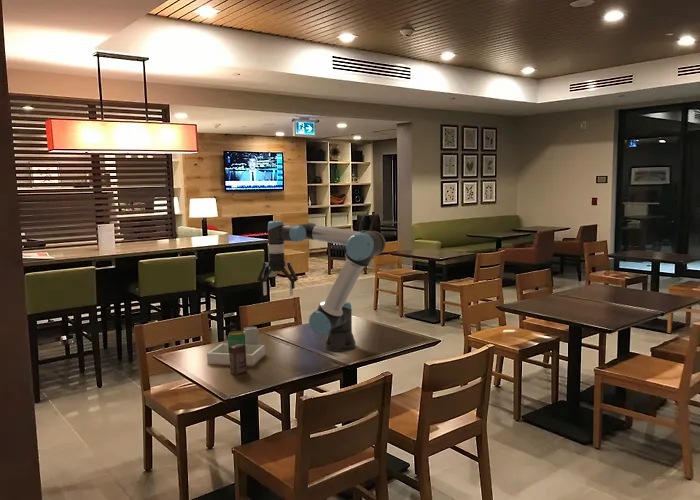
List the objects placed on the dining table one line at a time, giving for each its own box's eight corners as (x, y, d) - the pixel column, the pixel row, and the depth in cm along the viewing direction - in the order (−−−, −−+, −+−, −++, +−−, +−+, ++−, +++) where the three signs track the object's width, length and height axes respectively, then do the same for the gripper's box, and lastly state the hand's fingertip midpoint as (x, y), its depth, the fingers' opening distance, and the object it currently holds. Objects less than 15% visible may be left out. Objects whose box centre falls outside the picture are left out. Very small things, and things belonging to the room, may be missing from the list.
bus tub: (265, 355, 269) (264, 345, 268) (252, 366, 253) (252, 355, 253) (222, 353, 273) (221, 343, 273) (207, 363, 258) (207, 353, 257)
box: (240, 369, 249) (239, 343, 247) (247, 371, 246) (246, 344, 244) (229, 373, 244) (228, 346, 243) (236, 375, 241) (234, 348, 240)
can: (255, 354, 271) (254, 330, 269) (241, 353, 272) (240, 329, 271) (261, 349, 278) (260, 326, 277) (247, 349, 280) (246, 325, 278)
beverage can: (249, 356, 265) (248, 331, 264) (239, 361, 258) (238, 335, 257) (235, 354, 269) (234, 329, 267) (225, 359, 261) (224, 334, 260)
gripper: (303, 251, 278) (304, 293, 280) (255, 251, 282) (256, 293, 285) (299, 253, 270) (300, 296, 273) (249, 253, 275) (251, 296, 277)
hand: (278, 295), depth 279 cm, fingers open, 13 cm apart
